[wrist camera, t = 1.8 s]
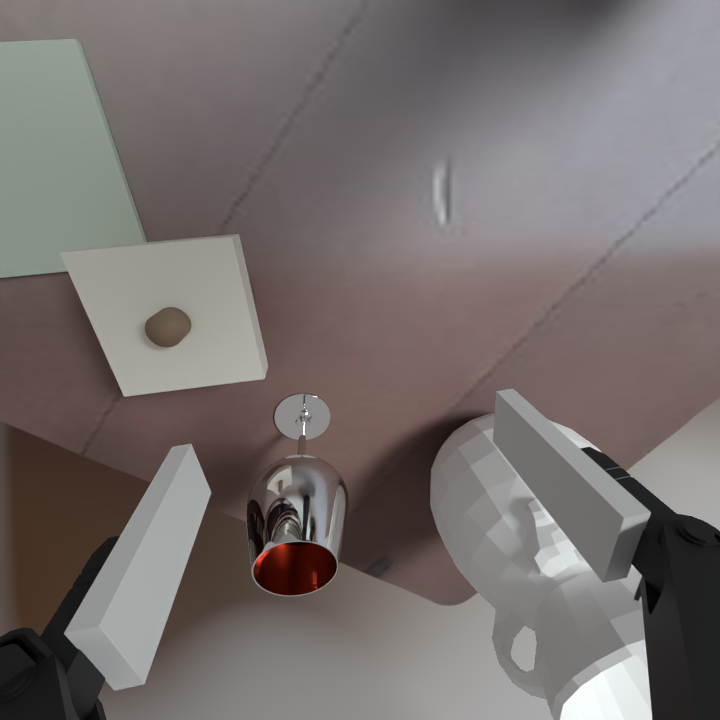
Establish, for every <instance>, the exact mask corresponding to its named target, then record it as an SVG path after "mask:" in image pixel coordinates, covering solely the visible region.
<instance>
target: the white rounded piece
mask: <svg viewBox="0 0 720 720" xmlns="http://www.w3.org/2000/svg"><path fill="white" fill-rule="evenodd" d="M494 417H495V413H490V414H486V415H484V416H481V417H478V418H476V419H473V420H470V421H469V422H467V423H466V424H464V425H463V426H461V427H460V428H458V429H457V430H455V431H454V432H453V433H452V434H451V435H450V436H449V438H448V439H447V440H446V441H445V442H444V444H443V445H442V447H441V448H440V450H439V452H438V453H437V456H436V458H435V461H434V463H433V466H432V468H431V485H430V507H431V510H432V514H433V517H434V520H435V524H436V527H437V530H438V532H439V534H440V536H441V538H442V541H443V543H444V545H445V547H446V549H447V550H448V552H449V554H450V556H451V558H452V559H453V561H454V563H455V565H456V567H457V568H458V570H459V571H460V572H461V573H462V574H463V575H464V577H465V578H466V579H467V580H468V581H469V583H470V584H471V585H472V586H473V587H474V589H475V590H476V591H477V592H478V593H480V594H481V595H482V596H483V597H484V598H485V599H486V600H487V601H488V602H489V603H490V604H491V605H492V606H493V607H494V608H495V609H496V614H495V622H494V630H493V636H492V639H493V643H494V647H495V651H496V654H497V658H498V661H499V663H500V665H501V667H502V668H503V669H504V671H505V672H506V674H507V675H508V677H509V678H510V680H511V681H512V682H513V683H514V684H515V685H516V686H518V687H519V688H521V689H522V690H524V691H525V692H527V693H529V694H530V695H533V696H536V697H540V698H544V699H547V702H548V705H549V708H550V711H551V714H552V716H553V718H554V720H652V710H651V699H650V688H649V676H648V665H647V654H646V643H645V632H644V621H643V610H642V599H641V597H640V599H639V601H636V600H634V596H635V592H636V590H637V587H638V585H639V582H640V580H641V577H642V575H641V574H640V573H639V572H638V571H637V569H636V568H635V567H634V566H633V565H631V568H630V571H629V574H628V576H627V578H623V579H619V580H614V581H610V582H605V583H603V582H602V581H601V580H600V579H599V577H598V576H597V575H596V573H595V572H594V571H593V570H592V568H591V567H590V566H589V564H588V563H587V562H586V561H585V559H584V558H583V557H582V555H581V554H580V553H579V552H578V550H577V549H576V548H575V546H574V545H573V544H572V543H571V541H570V540H569V539H568V537H567V536H566V535H565V534H564V532H563V531H562V530H561V528H560V527H559V526H558V525H557V523H556V522H555V521H554V519H553V518H552V517H551V516H550V514H549V513H548V512H547V510H546V509H545V508H544V507H543V505H542V504H541V503H540V501H539V500H538V499H537V498H536V496H535V495H534V494H533V492H532V491H531V490H530V489H529V487H528V486H527V485H526V483H525V482H524V481H523V480H522V478H521V477H520V476H519V474H518V473H517V472H516V471H515V469H514V468H513V467H512V465H511V464H510V463H509V462H508V460H507V459H506V458H505V456H504V455H503V454H502V453H501V451H500V450H499V449H498V447H497V446H496V445H495V444H494V442H493V430H494ZM549 421H550V420H549ZM550 422H551V423H552V424H553V425H554V426H555V427H556V428H557V429H559V430H560V431H561V432H562V433H563V434H564V435H565V436H566V437H567V438H569V439H570V440H571V441H572V442H573V443H574V444H575V445H576V446H578V447H579V448H585V447H592V448H593V449H595V450H597V451H599V452H601V451H600V450H599V449H598V448H597V447H595V446H594V445H593V444H591V443H590V442H588V441H587V440H586V439H584V438H583V437H581V436H580V435H579V434H577V433H576V432H575V431H573V430H572V429H570V428H567V427H565V426H562V425H560V424H557V423H555V422H552V421H550ZM601 453H602V452H601ZM524 626H526V627H528V628H530V629H532V630H534V631H535V634H536V641H537V645H536V655H535V665H534V669H533V670H531V671H528V672H525V671H523V670H521V669H520V668H519V667H518V666H517V665H516V663H515V662H514V661H513V660H512V658H511V648H512V644H513V640H514V638H515V637H516V635H517V634H518V633H519V632H520V630H521V629H522V628H523V627H524Z"/></svg>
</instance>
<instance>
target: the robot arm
mask: <svg viewBox="0 0 720 720" xmlns="http://www.w3.org/2000/svg"><path fill="white" fill-rule="evenodd" d="M493 442H494V444H495V445H496V446H497V447H498V449H499V450H500V451H501V453H502V454H503V455H504V456H505V458H506V459H507V460H508V462H509V463H510V464H511V465H512V467H513V468H514V469H515V471H516V472H517V473H518V474H519V476H520V477H521V478H522V480H523V481H524V482H525V483H526V485H527V486H528V487H529V489H530V490H531V491H532V492H533V494H534V495H535V496H536V498H537V499H538V500H539V501H540V503H541V504H542V505H543V507H544V508H545V509H546V510H547V512H548V513H549V514H550V516H551V517H552V518H553V519H554V521H555V522H556V523H557V525H558V526H559V527H560V528H561V530H562V531H563V532H564V534H565V535H566V536H567V537H568V539H569V540H570V541H571V543H572V544H573V545H574V546H575V548H576V549H577V550H578V552H579V553H580V554H581V555H582V557H583V558H584V559H585V561H586V562H587V563H588V564H589V566H590V567H591V568H592V570H593V571H594V572H595V573H596V575H597V576H598V577H599V579H600V580H601V581H602V582H603V583H605V582H610V581H614V580H619V579H623V578H627V576H628V574H629V571H630V568H631V565H633V566H634V567H635V568H636V569H637V571H638V572H639V573H640V574H641V575H642V577H641V580H640V582H639V585H638V587H637V590H636V592H635V596H634V600H636V601H639V599H640V597H641V599H642V610H643V621H644V632H645V643H646V654H647V665H648V676H649V688H650V699H651V710H652V720H720V531H719V530H717V529H716V528H715V527H713V526H711V525H710V524H708V523H706V522H704V521H702V520H700V519H697V518H694V517H692V516H687V515H681V514H676V513H675V512H674V511H673V510H671V509H670V508H669V507H668V506H667V505H665V504H664V503H663V502H662V501H660V500H659V499H658V498H657V497H656V496H654V495H653V494H652V493H651V492H650V491H649V490H647V489H646V488H645V487H644V486H643V485H641V484H640V483H639V482H638V481H637V480H635V479H634V478H631V476H630V475H629V474H628V473H627V472H626V471H625V470H624V469H622V468H620V466H619V465H618V464H616V463H615V462H614V461H613V460H612V459H610V458H609V457H608V456H607V455H605V454H603V453H601V452H599V451H597V450H595V449H593V448H592V447H585V448H579V447H578V446H576V445H575V444H574V443H573V442H572V441H571V440H570V439H569V438H567V437H566V436H565V435H564V434H563V433H562V432H561V431H560V430H559V429H557V428H556V427H555V426H554V425H553V424H552V423H551V422H550V421H549V420H547V419H546V418H545V417H544V416H543V415H542V414H541V413H540V412H538V411H537V410H536V409H535V408H534V407H533V406H532V405H531V404H530V403H528V402H527V401H526V400H525V399H524V398H523V397H522V396H521V395H519V394H518V393H517V392H516V391H515V390H514V389H508V390H502V391H496V403H495V417H494V430H493ZM210 495H211V490H210V488H209V486H208V483H207V481H206V478H205V476H204V473H203V471H202V469H201V466H200V464H199V461H198V459H197V456H196V454H195V452H194V449H193V447H192V444H186V445H180V446H174V447H172V448H171V450H170V451H169V453H168V455H167V457H166V458H165V460H164V462H163V463H162V465H161V467H160V469H159V470H158V472H157V474H156V475H155V477H154V479H153V481H152V482H151V484H150V486H149V488H148V489H147V491H146V493H145V494H144V496H143V498H142V500H141V501H140V503H139V505H138V506H137V508H136V510H135V512H134V513H133V515H132V517H131V519H130V520H129V522H128V524H127V525H126V527H125V529H124V531H123V532H122V534H121V536H117V537H111V538H108V539H107V540H106V541H105V542H104V543H103V544H102V545H101V546H100V547H99V548H98V549H97V550H96V551H95V552H94V553H93V554H92V555H91V557H90V559H89V560H88V562H87V563H86V565H85V567H84V568H83V570H82V574H81V575H79V576H78V578H77V579H76V581H75V582H74V584H73V588H72V589H70V591H69V592H68V593H67V595H66V597H65V598H64V600H63V601H62V603H61V605H60V606H59V608H58V609H57V611H56V613H55V614H54V616H53V617H52V619H51V621H50V622H49V624H48V625H47V627H46V628H45V630H44V632H43V633H42V635H41V636H40V637H39V636H38V635H37V634H36V633H35V631H33V629H31V628H20V629H16V630H13V631H10V632H8V633H6V634H5V635H3V636H1V637H0V720H106V716H105V713H104V709H103V706H102V703H101V702H100V701H99V699H98V698H97V697H98V695H99V693H100V690H101V688H102V686H103V683H104V681H105V680H106V682H107V683H109V685H110V686H111V687H112V688H113V689H114V690H120V689H124V688H129V687H133V686H138V685H142V684H145V681H146V678H147V675H148V672H149V669H150V667H151V664H152V661H153V658H154V655H155V652H156V650H157V647H158V644H159V641H160V638H161V635H162V632H163V629H164V627H165V624H166V621H167V618H168V615H169V612H170V610H171V607H172V603H173V601H174V598H175V595H176V592H177V589H178V586H179V584H180V581H181V578H182V575H183V572H184V569H185V567H186V564H187V561H188V558H189V555H190V552H191V549H192V547H193V544H194V541H195V538H196V535H197V532H198V529H199V526H200V524H201V521H202V518H203V515H204V512H205V509H206V506H207V504H208V501H209V498H210Z"/></svg>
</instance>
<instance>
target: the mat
mask: <svg viewBox="0 0 720 720" xmlns="http://www.w3.org/2000/svg"><path fill="white" fill-rule="evenodd" d="M145 242H147V239H146V237H145V234H144V231H143V228H142V225H141V222H140V219H139V216H138V213H137V210H136V207H135V204H134V201H133V198H132V195H131V192H130V189H129V186H128V183H127V180H126V177H125V174H124V171H123V168H122V165H121V162H120V159H119V156H118V153H117V150H116V147H115V144H114V141H113V138H112V135H111V132H110V129H109V126H108V123H107V120H106V117H105V114H104V111H103V108H102V105H101V102H100V99H99V96H98V93H97V90H96V87H95V84H94V81H93V78H92V75H91V72H90V69H89V66H88V63H87V60H86V57H85V55H84V52H83V49H82V46H81V43H80V42H79V41H78V40H76V39H56V40H34V41H12V42H0V278H4V277H14V276H25V275H35V274H45V273H56V272H66V271H67V268H66V266H65V264H64V262H63V259H62V257H61V255H60V252H66V251H71V250H76V249H81V248H91V247H102V246H113V245H123V244H134V243H145Z"/></svg>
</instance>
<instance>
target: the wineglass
mask: <svg viewBox="0 0 720 720" xmlns="http://www.w3.org/2000/svg"><path fill="white" fill-rule="evenodd" d="M330 417H331V416H330V410H329V408H328V406H327V404H326V403H325V402H324V401H323V400H322V399H321V398H319V397H317V396H315V395H312V394H308V393H298V394H293V395H291V396H288V397H287V398H285V399H284V400H282V401H281V402H280V403H279V405H278V406H277V408H276V411H275V416H274V418H275V423H276V426H277V428H278V429H279V430H280V432H281V433H283V434H284V435H285V436H287V437H289V438H292V439H296V440H298V452H297V455H291V456H287V457H284V458H282V459H279V460H277V461H276V462H274V463H272V464H271V465H269V466H268V467H267V468H266V469H265V470H264V471H263V472H262V473H261V474H260V475H259V476H258V477H257V479H256V480H255V482H254V484H253V485H252V487H251V490H250V493H249V496H248V500H247V510H246V518H247V533H248V543H249V552H250V561H251V568H252V576H253V579H254V581H255V582H256V584H257V585H258V586H259V587H261V588H262V589H263V590H265V591H267V592H269V593H272V594H276V595H281V596H300V595H306V594H309V593H312V592H315V591H317V590H320V589H321V588H323V587H325V586H326V585H327V584H329V582H331V581H332V580H333V578H334V577H335V575H336V573H337V570H338V566H339V561H340V556H341V551H342V546H343V541H344V536H345V531H346V525H347V518H348V510H349V497H348V491H347V487H346V484H345V482H344V480H343V478H342V477H341V475H340V474H339V472H338V471H337V470H336V469H335V468H334V467H333V466H332V465H330V464H329V463H328V462H326V461H324V460H322V459H320V458H318V457H315V456H311V455H305V454H306V440H308V439H312V438H315V437H317V436H319V435H320V434H322V433H323V432H324V431H325V430H326V429H327V427H328V425H329V423H330Z"/></svg>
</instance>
